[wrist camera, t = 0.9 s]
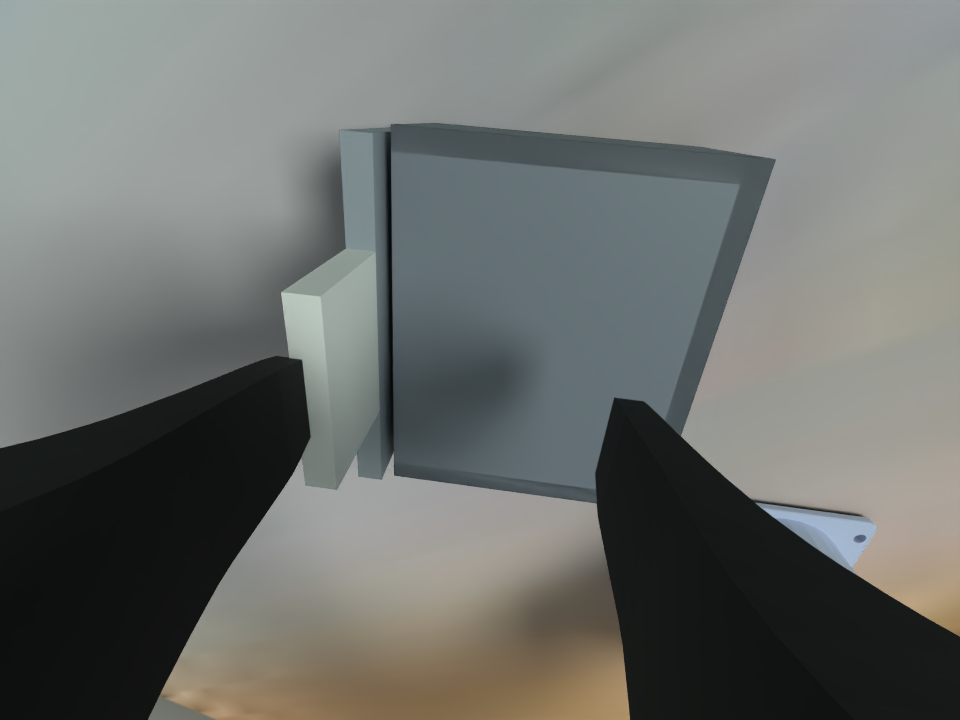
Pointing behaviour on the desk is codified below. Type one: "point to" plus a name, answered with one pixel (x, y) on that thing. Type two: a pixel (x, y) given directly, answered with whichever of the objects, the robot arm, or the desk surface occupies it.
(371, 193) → the carton flap
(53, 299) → the desk surface
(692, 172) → the carton
